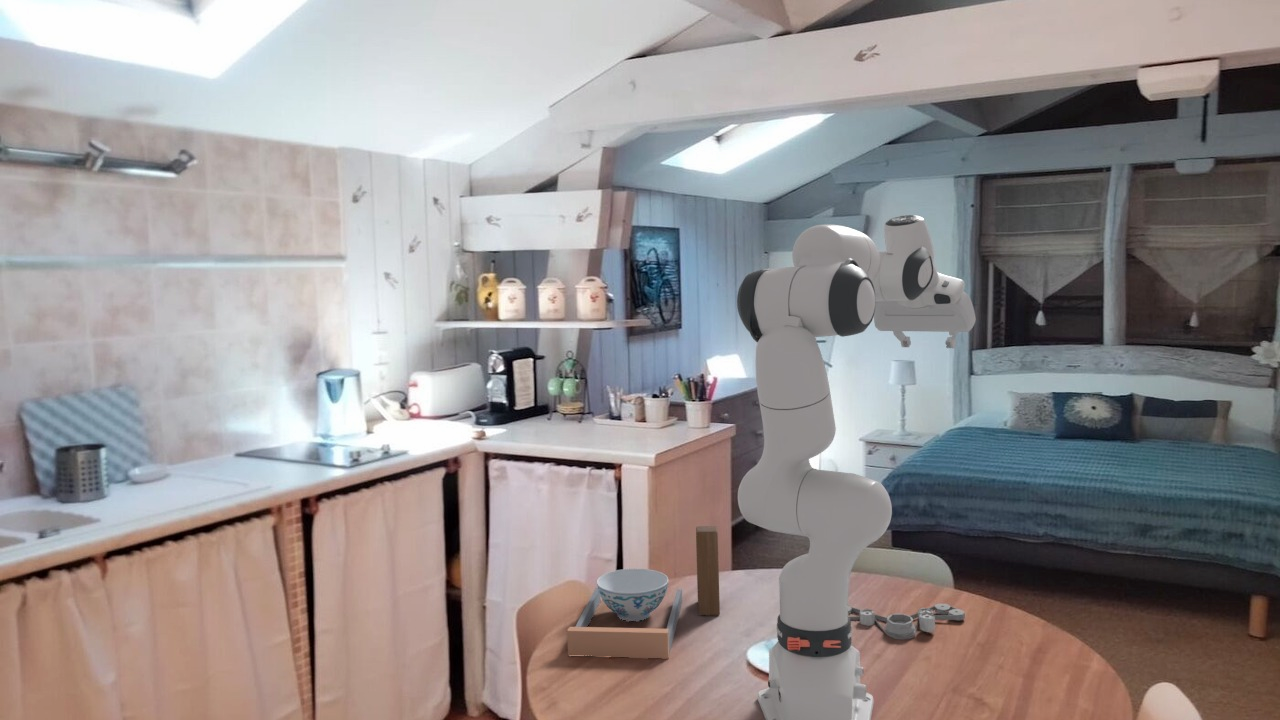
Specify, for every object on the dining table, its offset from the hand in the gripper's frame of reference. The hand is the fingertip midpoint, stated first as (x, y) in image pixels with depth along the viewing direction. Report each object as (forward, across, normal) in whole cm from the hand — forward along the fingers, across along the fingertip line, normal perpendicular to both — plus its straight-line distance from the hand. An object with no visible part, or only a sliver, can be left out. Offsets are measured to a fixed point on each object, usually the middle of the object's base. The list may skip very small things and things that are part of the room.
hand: (928, 346), depth 190 cm
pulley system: (+40, 0, -42) cm, 58 cm away
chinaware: (+28, -48, -62) cm, 84 cm away
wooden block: (+34, -37, -52) cm, 72 cm away
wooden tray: (+25, -46, -67) cm, 85 cm away
